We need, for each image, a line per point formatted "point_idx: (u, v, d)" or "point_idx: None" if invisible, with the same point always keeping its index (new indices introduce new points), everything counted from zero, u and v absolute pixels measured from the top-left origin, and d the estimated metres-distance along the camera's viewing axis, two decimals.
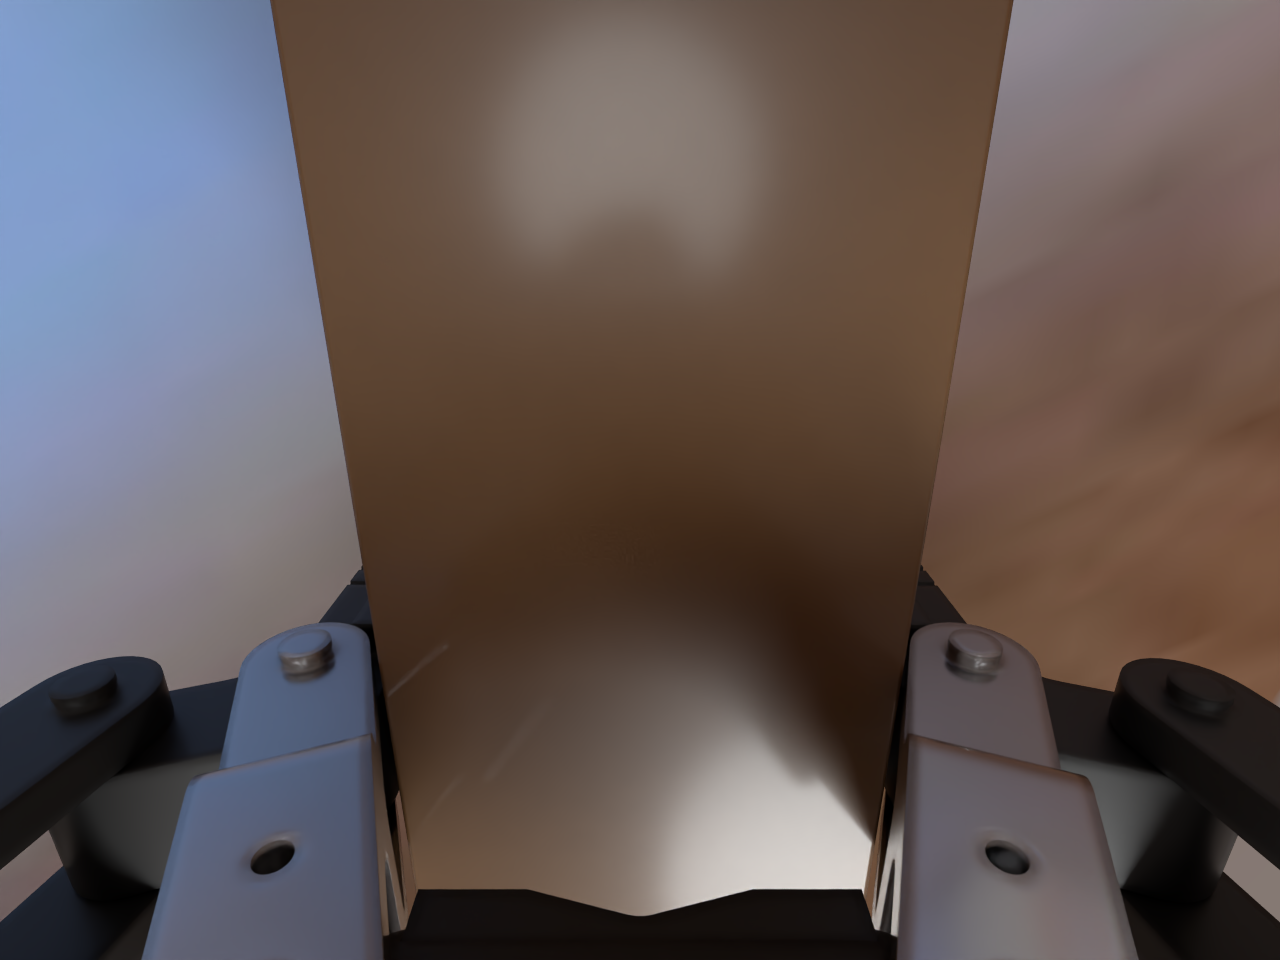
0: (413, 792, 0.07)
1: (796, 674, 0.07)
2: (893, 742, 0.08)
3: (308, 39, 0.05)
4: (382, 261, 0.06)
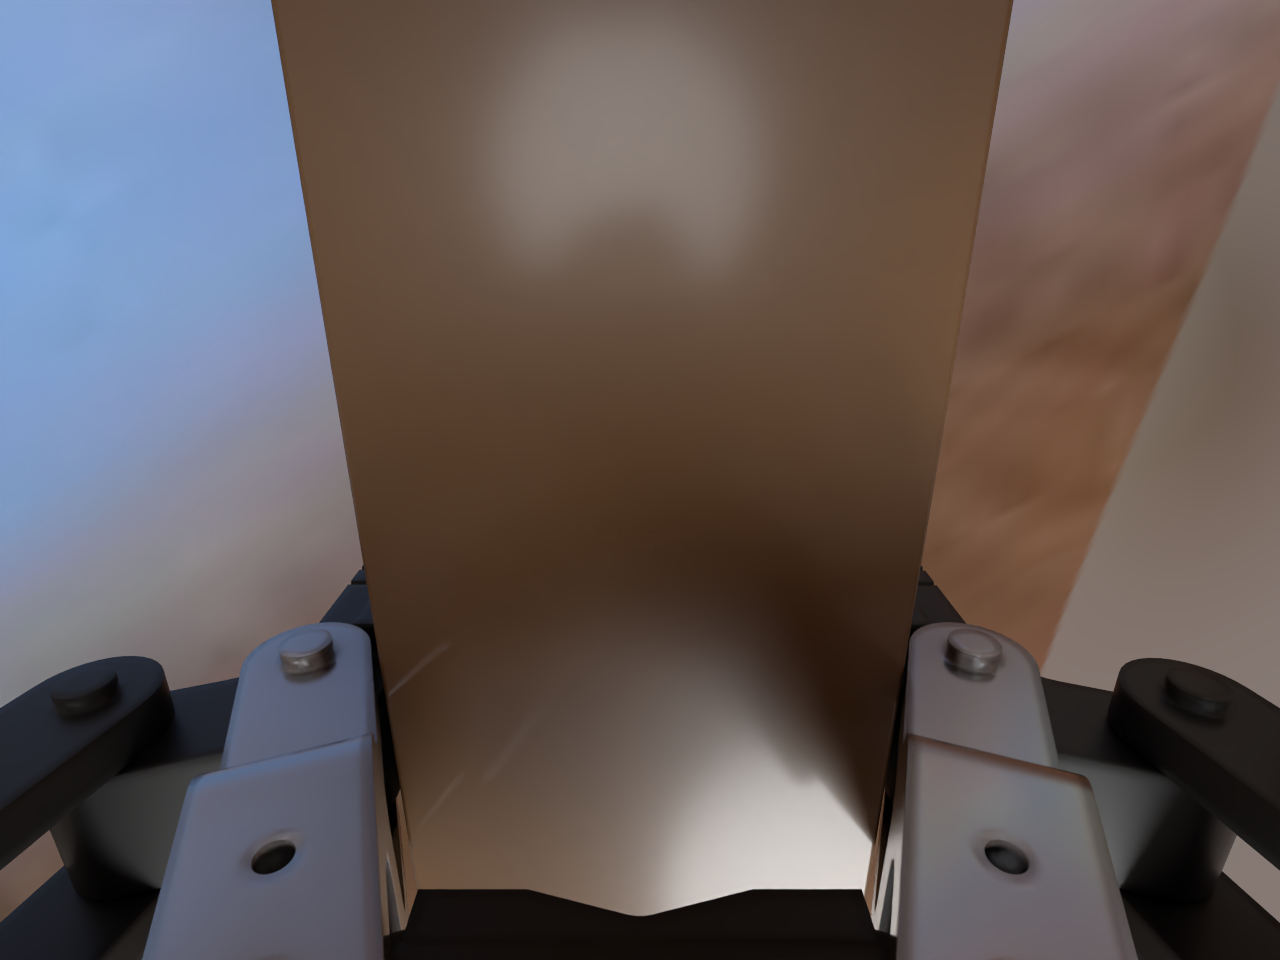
0: (414, 792, 0.07)
1: (797, 672, 0.07)
2: None
3: (311, 39, 0.05)
4: (383, 261, 0.06)
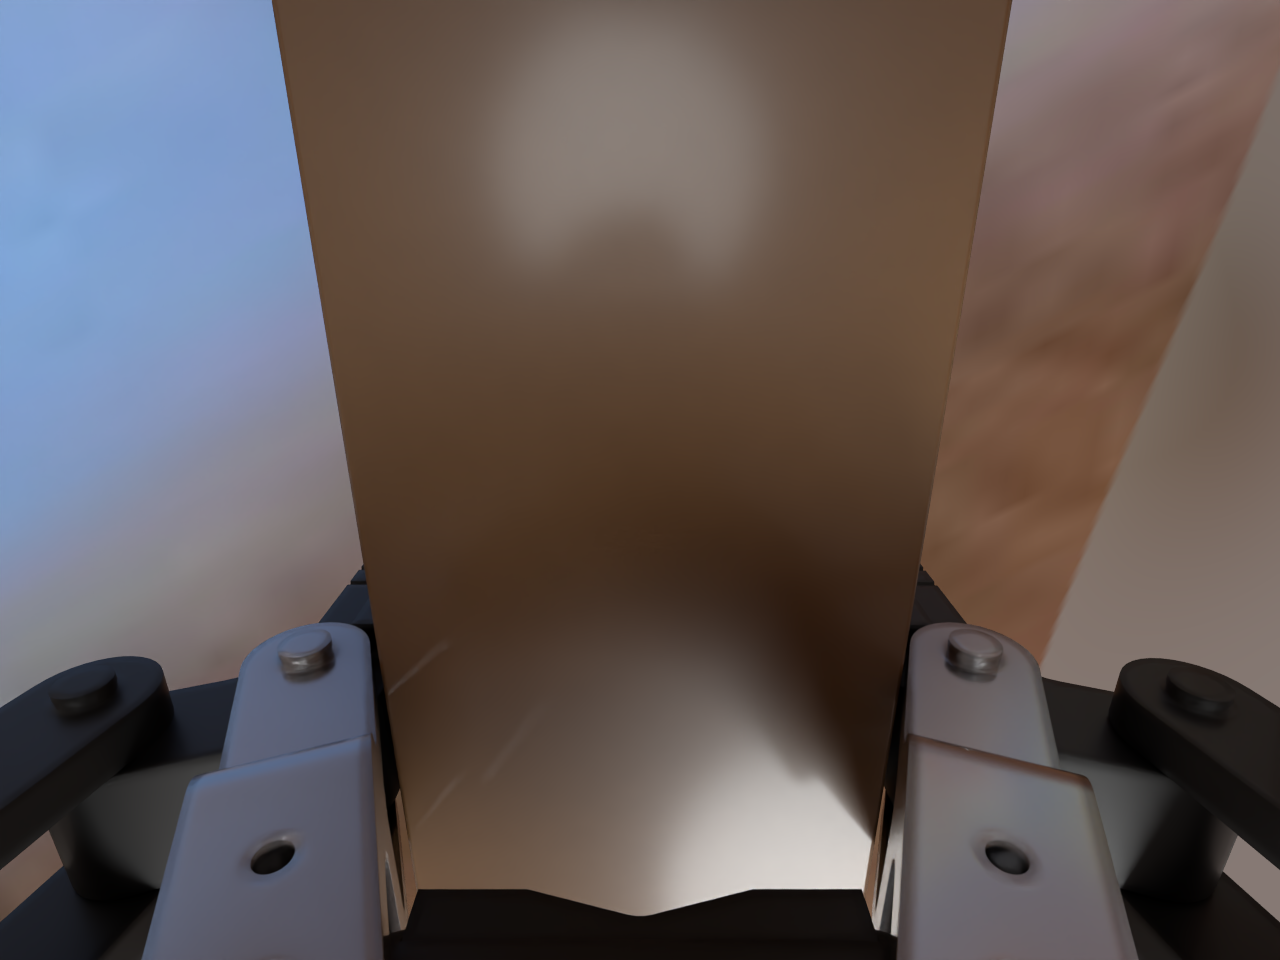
0: (414, 790, 0.07)
1: (797, 671, 0.07)
2: (893, 742, 0.08)
3: (311, 38, 0.05)
4: (383, 259, 0.06)
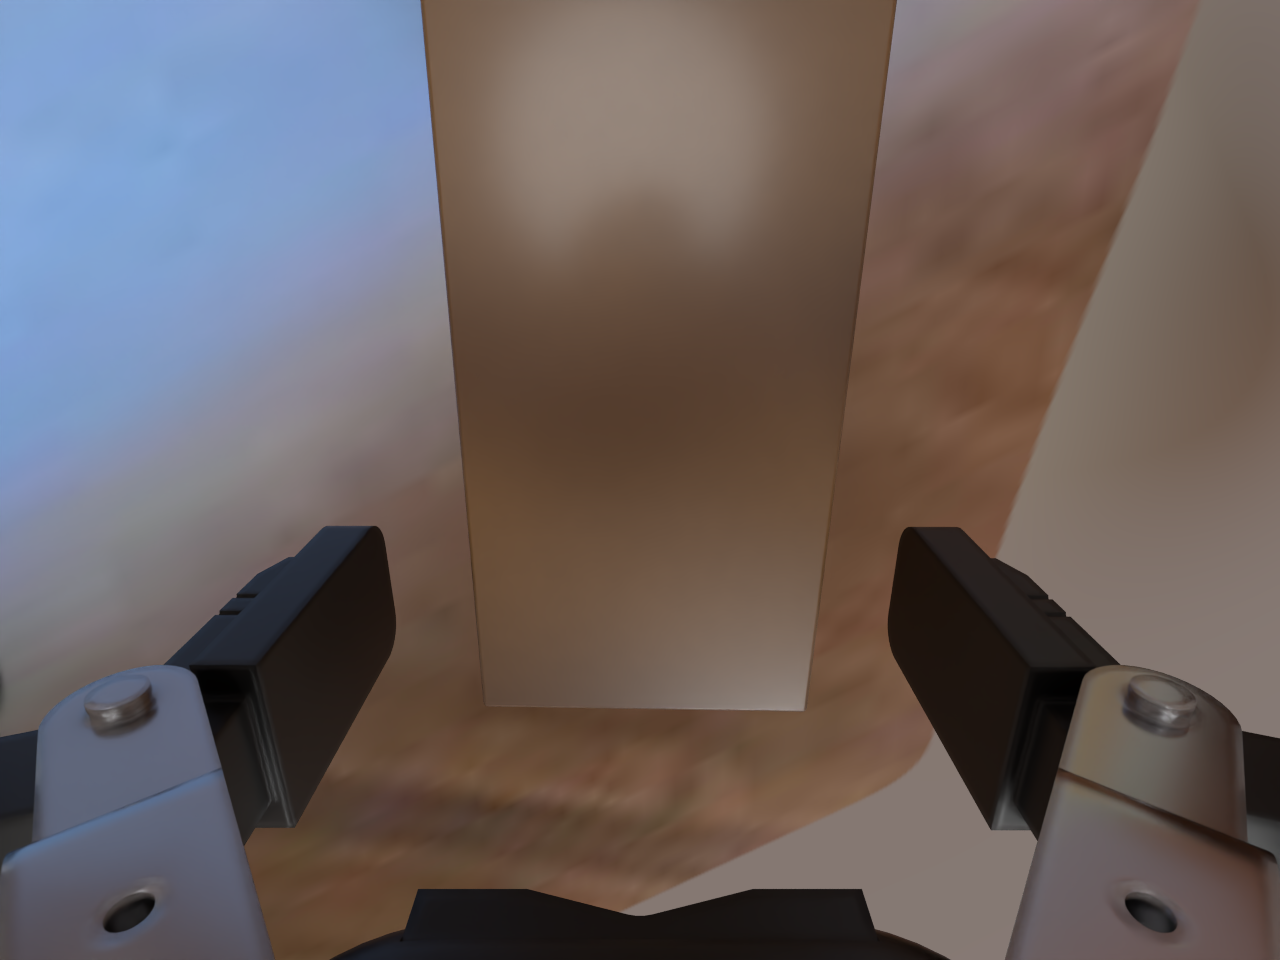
0: (474, 477, 0.10)
1: (768, 373, 0.09)
2: None
3: None
4: (472, 19, 0.08)
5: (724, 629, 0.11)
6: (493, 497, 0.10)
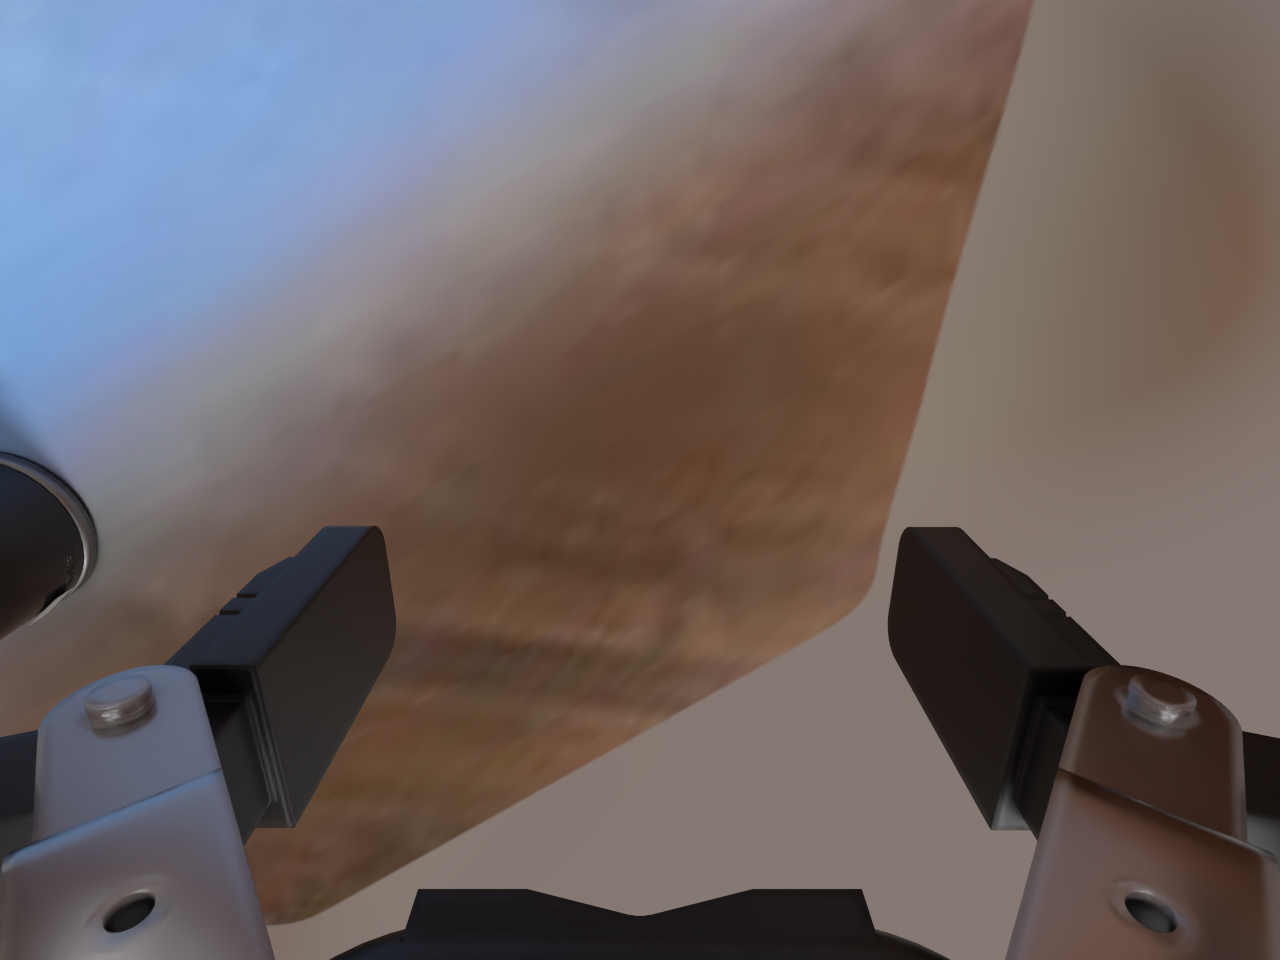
0: None
1: None
2: None
3: None
4: None
5: None
6: None
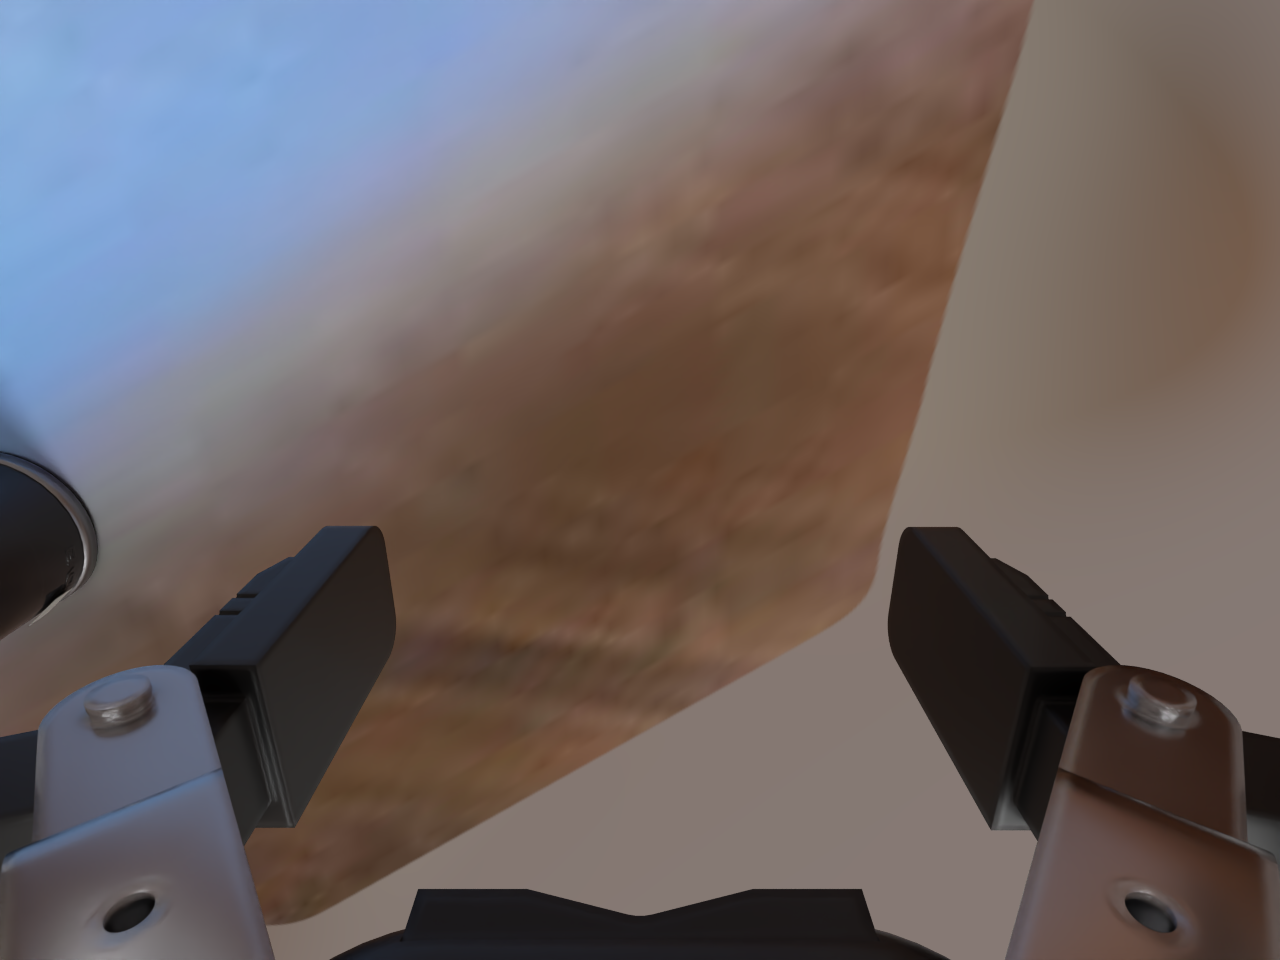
0: None
1: None
2: None
3: None
4: None
5: None
6: None
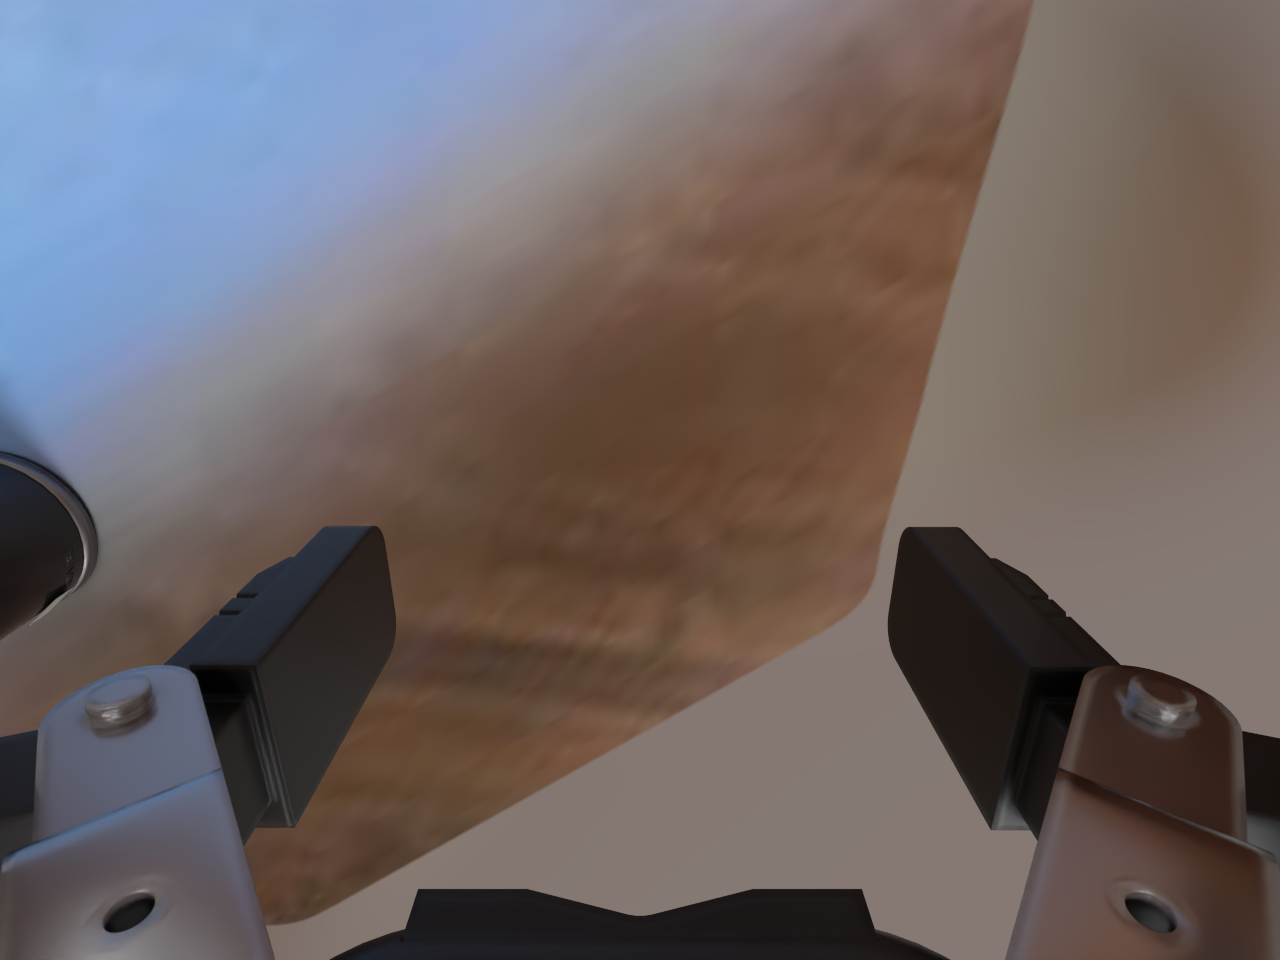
0: None
1: None
2: None
3: None
4: None
5: None
6: None
